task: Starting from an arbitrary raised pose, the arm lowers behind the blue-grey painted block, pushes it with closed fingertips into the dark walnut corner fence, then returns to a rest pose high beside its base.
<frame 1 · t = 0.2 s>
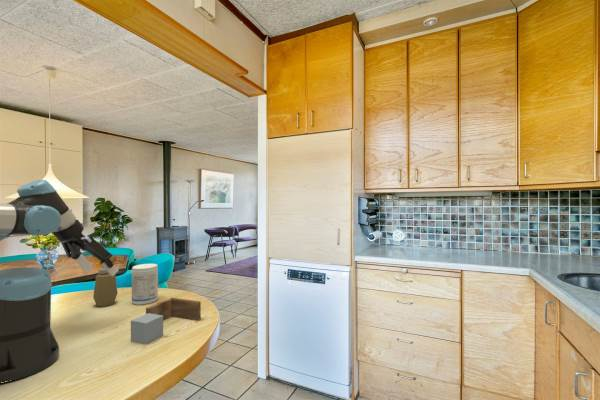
hand: (102, 271, 101), 16 cm above the table, tool tilted 35°, fingers open, 13 cm apart
squeeze bottle: (105, 304, 113), on the table
grey block: (147, 338, 83), on the table
corner fence: (184, 317, 99), on the table
supplement tub: (144, 301, 116), on the table
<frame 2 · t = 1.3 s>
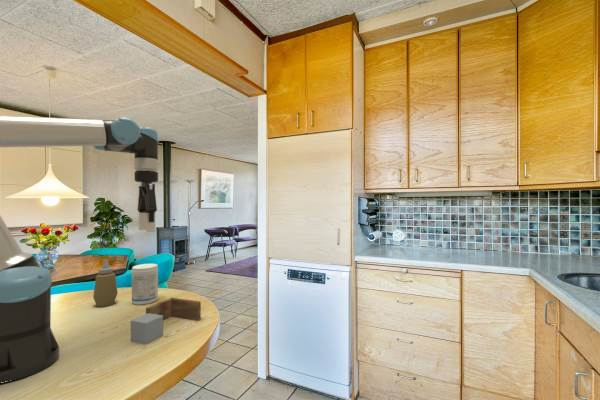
hand: (146, 230, 101), 30 cm above the table, tool pointing down, fingers open, 12 cm apart
nothing on the table moved.
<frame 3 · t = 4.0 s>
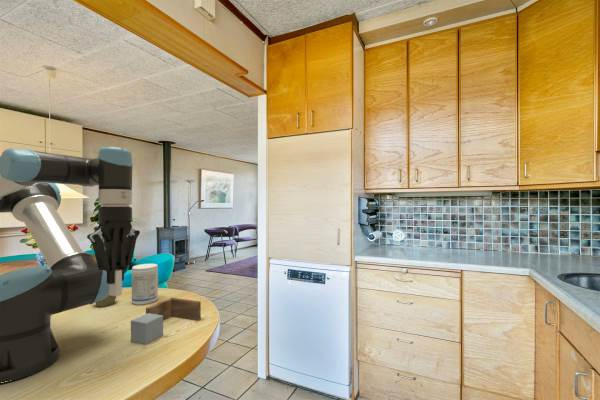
hand: (115, 294, 74), 16 cm above the table, tool pointing down, fingers closed
nothing on the table moved.
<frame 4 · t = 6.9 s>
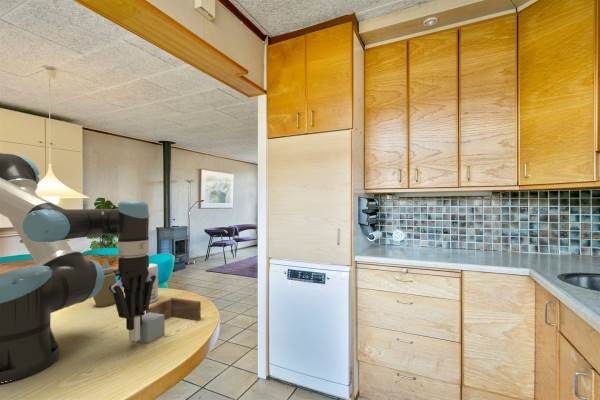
hand: (134, 339, 79), 2 cm above the table, tool pointing down, fingers closed
grey block: (148, 337, 84), on the table, touching gripper
everything else where it was.
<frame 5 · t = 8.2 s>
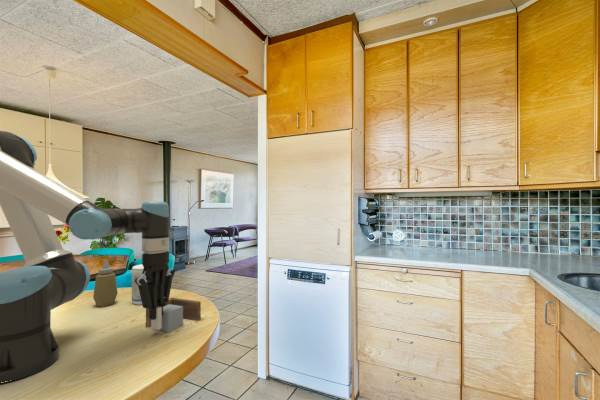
hand: (156, 328, 86), 2 cm above the table, tool pointing down, fingers closed
grey block: (168, 327, 91), on the table, touching gripper
everything else where it was.
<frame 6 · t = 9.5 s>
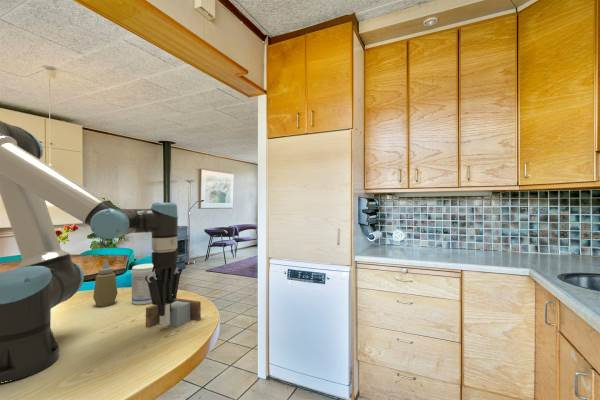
hand: (164, 324, 89), 1 cm above the table, tool pointing down, fingers closed
grey block: (176, 322, 94), on the table, touching gripper
everything else where it was.
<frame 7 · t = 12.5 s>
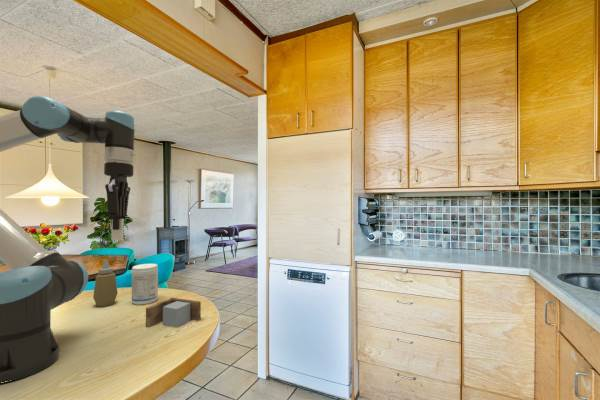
hand: (117, 240, 85), 29 cm above the table, tool pointing down, fingers closed
grey block: (176, 322, 94), on the table
everything else where it was.
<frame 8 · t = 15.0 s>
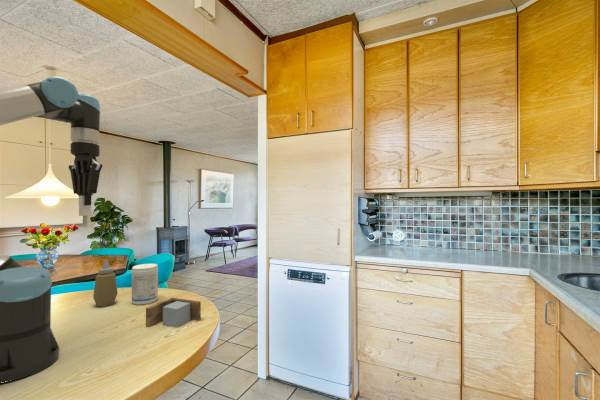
hand: (84, 215, 91), 36 cm above the table, tool pointing down, fingers closed
nothing on the table moved.
at the end: grey block inside the target area (1.2 cm from its centre), on the table; grey block moved 11.7 cm from its start; the gripper is holding nothing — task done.
